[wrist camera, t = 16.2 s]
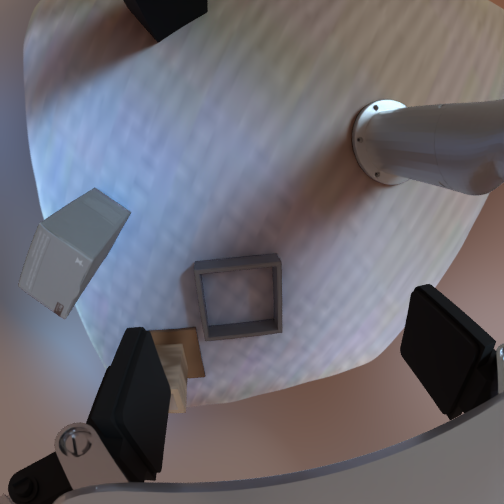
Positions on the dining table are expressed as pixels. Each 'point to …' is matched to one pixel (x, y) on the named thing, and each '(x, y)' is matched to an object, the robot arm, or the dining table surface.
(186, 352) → the walnut board
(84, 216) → the skincare box
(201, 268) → the bin
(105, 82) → the dining table surface
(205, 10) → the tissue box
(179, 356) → the beech block
